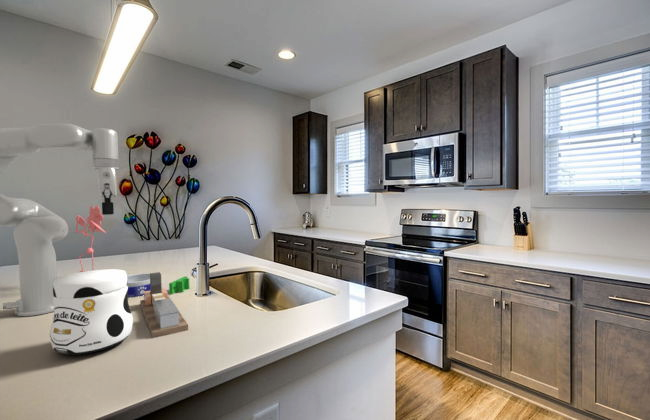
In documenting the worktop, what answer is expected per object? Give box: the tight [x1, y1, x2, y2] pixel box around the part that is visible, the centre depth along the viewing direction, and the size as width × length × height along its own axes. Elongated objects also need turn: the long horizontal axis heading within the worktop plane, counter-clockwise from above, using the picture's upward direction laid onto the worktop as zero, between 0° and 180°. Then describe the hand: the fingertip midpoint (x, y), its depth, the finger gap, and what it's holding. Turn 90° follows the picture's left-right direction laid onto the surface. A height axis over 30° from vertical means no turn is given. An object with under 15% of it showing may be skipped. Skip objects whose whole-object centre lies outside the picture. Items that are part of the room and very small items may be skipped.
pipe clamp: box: [168, 275, 191, 295], centre depth 133 cm, size 11×4×5 cm, turn 173°
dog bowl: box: [127, 272, 151, 299], centre depth 131 cm, size 15×15×6 cm
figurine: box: [75, 204, 107, 272], centre depth 146 cm, size 15×26×35 cm, turn 58°
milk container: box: [49, 268, 134, 356], centre depth 84 cm, size 17×17×18 cm
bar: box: [149, 271, 165, 304], centre depth 108 cm, size 20×3×10 cm, turn 34°
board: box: [139, 295, 189, 339], centre depth 104 cm, size 34×9×2 cm, turn 34°
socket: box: [143, 287, 169, 305], centre depth 115 cm, size 7×7×3 cm
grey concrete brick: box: [153, 297, 180, 329], centre depth 97 cm, size 15×5×4 cm, turn 34°
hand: (107, 213), depth 114 cm, fingers open, 9 cm apart
